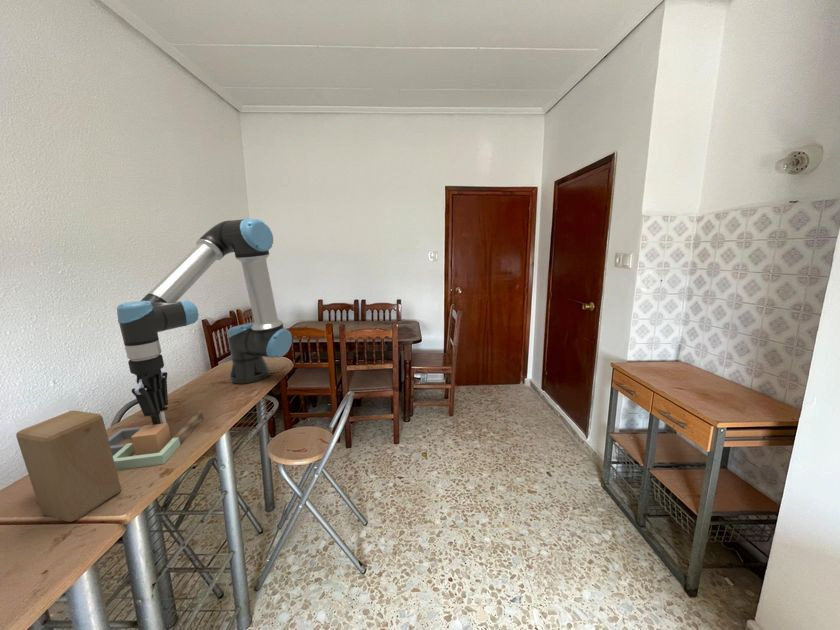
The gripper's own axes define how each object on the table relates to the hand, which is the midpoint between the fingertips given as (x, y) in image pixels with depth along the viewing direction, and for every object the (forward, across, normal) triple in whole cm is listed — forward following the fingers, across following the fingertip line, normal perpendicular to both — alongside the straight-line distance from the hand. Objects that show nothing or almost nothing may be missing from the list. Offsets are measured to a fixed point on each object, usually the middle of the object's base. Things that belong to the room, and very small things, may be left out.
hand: (161, 433), depth 99 cm
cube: (+2, +5, 0) cm, 5 cm away
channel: (+2, -3, 0) cm, 4 cm away
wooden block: (+2, +24, -4) cm, 25 cm away
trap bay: (+2, 0, -10) cm, 10 cm away
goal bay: (+2, +8, 0) cm, 9 cm away
